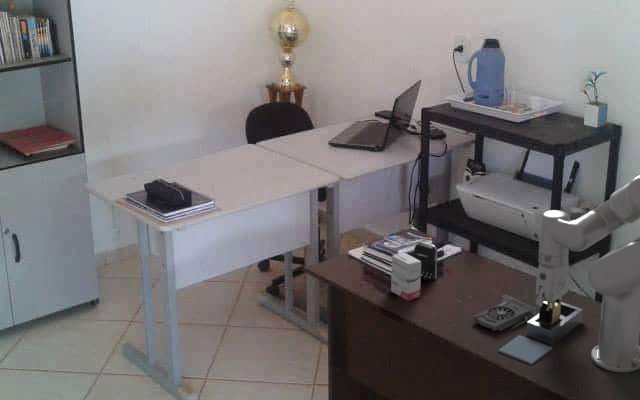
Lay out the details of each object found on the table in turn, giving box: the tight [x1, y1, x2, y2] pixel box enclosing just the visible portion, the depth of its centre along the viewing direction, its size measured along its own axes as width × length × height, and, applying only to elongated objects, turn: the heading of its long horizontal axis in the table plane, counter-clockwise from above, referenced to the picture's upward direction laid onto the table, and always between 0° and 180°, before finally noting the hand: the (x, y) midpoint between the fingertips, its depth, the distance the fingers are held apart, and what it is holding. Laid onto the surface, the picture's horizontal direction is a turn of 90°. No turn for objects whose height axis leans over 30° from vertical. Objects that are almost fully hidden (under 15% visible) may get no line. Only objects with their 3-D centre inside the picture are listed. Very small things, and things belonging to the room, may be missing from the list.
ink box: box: [390, 251, 422, 302], centre depth 258 cm, size 9×5×12 cm, turn 34°
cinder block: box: [525, 301, 584, 345], centre depth 237 cm, size 8×16×4 cm, turn 136°
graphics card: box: [472, 294, 537, 332], centre depth 244 cm, size 17×4×12 cm
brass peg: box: [538, 301, 561, 328], centre depth 234 cm, size 4×4×9 cm
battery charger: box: [413, 241, 438, 282], centre depth 267 cm, size 7×4×11 cm, turn 51°
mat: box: [498, 334, 553, 366], centre depth 228 cm, size 10×10×1 cm
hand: (549, 317), depth 234 cm, fingers closed on brass peg, 4 cm apart
